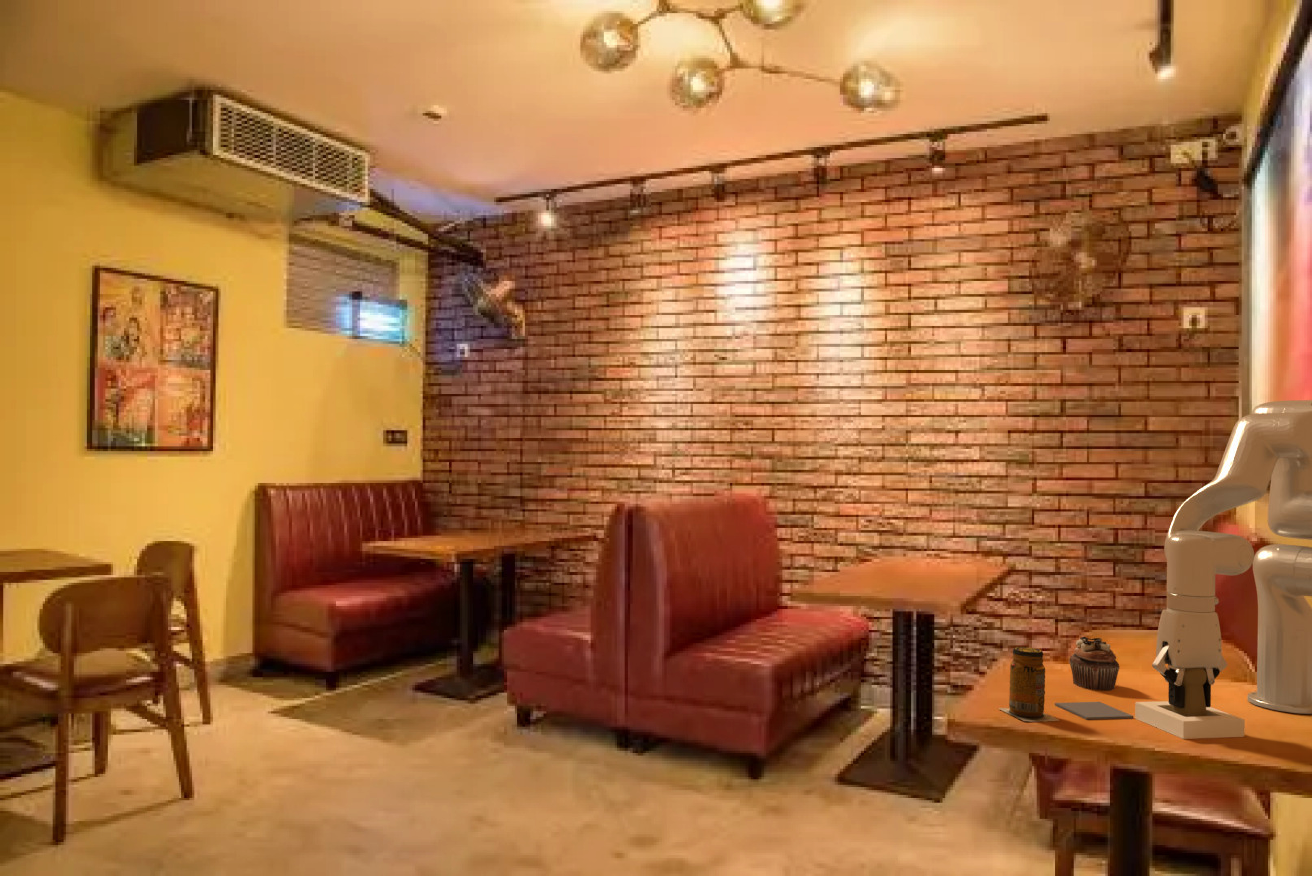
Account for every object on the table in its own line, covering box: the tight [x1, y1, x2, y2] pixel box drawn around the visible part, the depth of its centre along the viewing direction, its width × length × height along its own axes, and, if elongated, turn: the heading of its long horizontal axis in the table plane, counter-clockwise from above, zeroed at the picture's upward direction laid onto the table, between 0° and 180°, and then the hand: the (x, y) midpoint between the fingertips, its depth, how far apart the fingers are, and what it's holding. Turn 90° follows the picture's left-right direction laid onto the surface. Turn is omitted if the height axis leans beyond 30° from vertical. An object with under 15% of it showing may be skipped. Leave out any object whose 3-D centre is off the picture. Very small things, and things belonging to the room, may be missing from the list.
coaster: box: [1054, 701, 1134, 721], centre depth 174 cm, size 10×10×1 cm
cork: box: [1172, 668, 1207, 717], centre depth 165 cm, size 6×6×11 cm
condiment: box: [998, 646, 1061, 723], centre depth 170 cm, size 7×8×12 cm
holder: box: [1134, 700, 1245, 740], centre depth 165 cm, size 12×12×3 cm
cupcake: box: [1068, 636, 1120, 692], centre depth 194 cm, size 10×10×10 cm
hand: (1189, 704), depth 165 cm, fingers closed on cork, 4 cm apart
